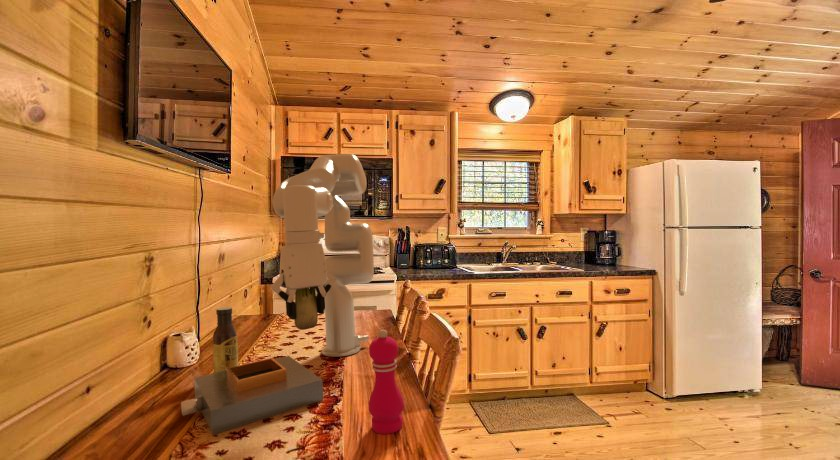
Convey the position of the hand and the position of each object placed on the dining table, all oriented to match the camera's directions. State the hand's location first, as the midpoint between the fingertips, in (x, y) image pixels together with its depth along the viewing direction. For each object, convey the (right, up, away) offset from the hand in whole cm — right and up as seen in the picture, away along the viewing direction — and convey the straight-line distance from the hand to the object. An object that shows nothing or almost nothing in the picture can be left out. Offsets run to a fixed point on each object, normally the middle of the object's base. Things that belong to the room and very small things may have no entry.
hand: (306, 315), depth 95 cm
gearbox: (-15, -22, +4) cm, 27 cm away
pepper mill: (+20, -21, -11) cm, 31 cm away
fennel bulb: (0, -3, 0) cm, 3 cm away
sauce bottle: (-28, -22, +19) cm, 40 cm away
